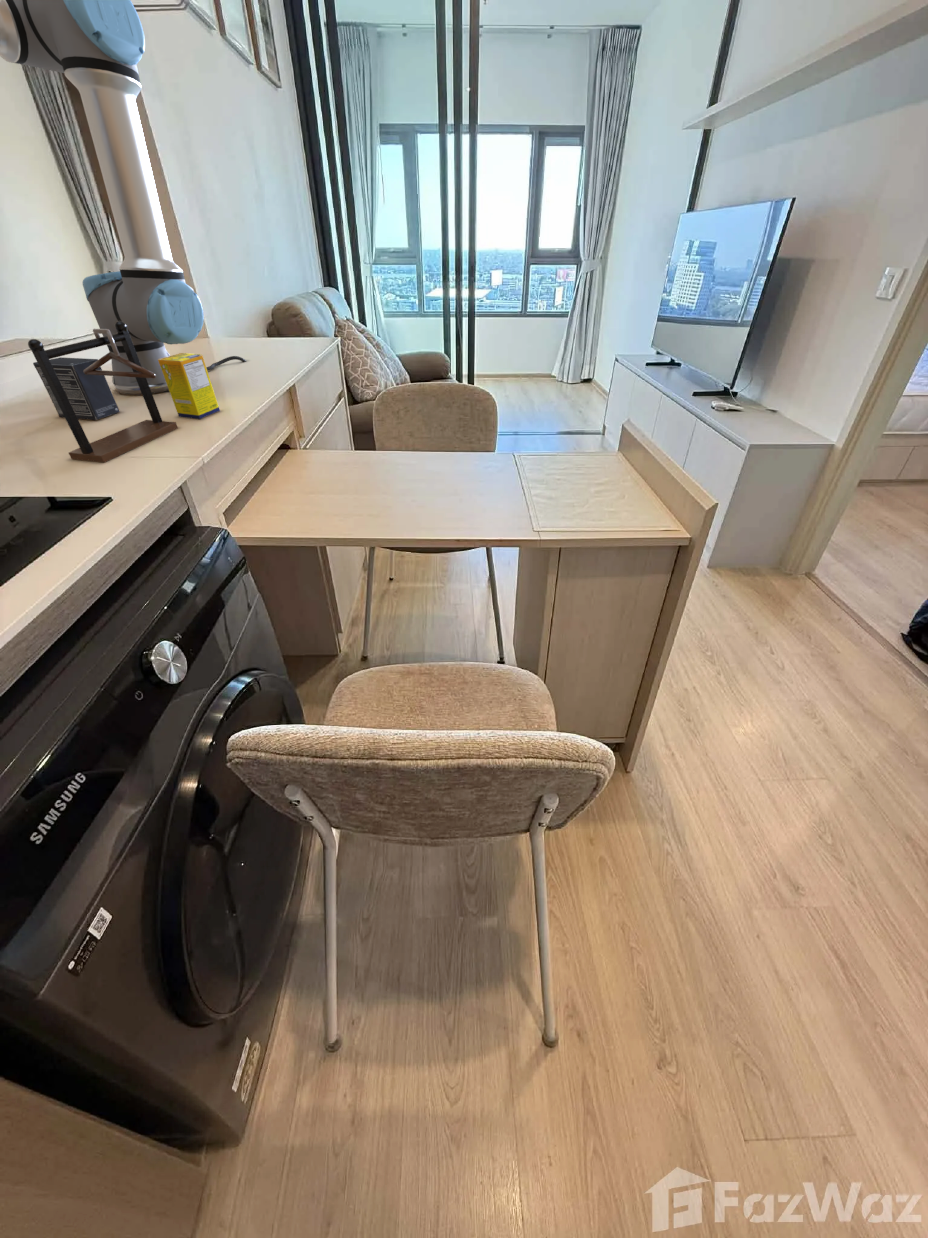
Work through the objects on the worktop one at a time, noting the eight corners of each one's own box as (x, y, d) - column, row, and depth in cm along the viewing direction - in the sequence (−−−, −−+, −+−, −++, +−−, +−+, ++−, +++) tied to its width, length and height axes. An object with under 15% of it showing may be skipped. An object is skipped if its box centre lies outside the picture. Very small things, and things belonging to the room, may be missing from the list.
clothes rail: (149, 425, 101) (106, 319, 89) (178, 428, 99) (139, 320, 88) (71, 459, 87) (9, 339, 76) (103, 462, 85) (45, 340, 74)
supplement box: (199, 408, 109) (180, 352, 102) (220, 411, 107) (203, 353, 100) (177, 416, 105) (156, 358, 98) (200, 419, 103) (180, 360, 96)
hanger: (87, 373, 92) (66, 327, 87) (157, 377, 88) (139, 329, 83) (83, 375, 91) (62, 328, 86) (154, 379, 87) (135, 330, 83)
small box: (122, 411, 108) (99, 357, 102) (97, 421, 103) (71, 365, 97) (85, 408, 111) (60, 355, 104) (58, 417, 106) (30, 362, 100)
